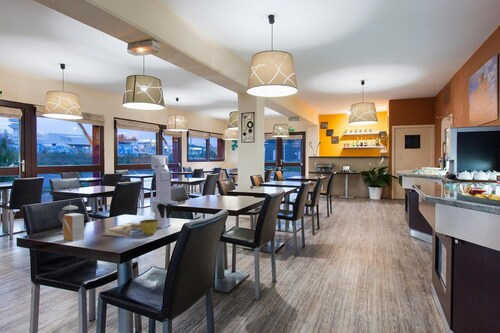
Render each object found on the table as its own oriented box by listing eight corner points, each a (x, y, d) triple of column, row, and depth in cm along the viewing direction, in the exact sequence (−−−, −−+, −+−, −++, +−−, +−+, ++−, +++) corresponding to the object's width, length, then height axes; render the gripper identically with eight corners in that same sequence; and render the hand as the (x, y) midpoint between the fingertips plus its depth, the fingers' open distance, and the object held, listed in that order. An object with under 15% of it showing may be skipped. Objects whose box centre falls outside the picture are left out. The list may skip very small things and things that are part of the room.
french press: (71, 234, 174) (70, 189, 174) (53, 233, 177) (53, 189, 176) (84, 230, 184) (83, 187, 184) (67, 229, 186) (66, 187, 186)
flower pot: (139, 236, 169) (139, 223, 169) (140, 232, 178) (140, 219, 178) (158, 235, 172) (158, 222, 171) (158, 231, 181) (158, 218, 181)
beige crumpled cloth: (130, 227, 191) (130, 222, 191) (150, 229, 187) (150, 224, 187) (105, 234, 172) (105, 229, 172) (126, 236, 168) (126, 231, 168)
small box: (63, 239, 163) (62, 214, 162) (75, 236, 168) (74, 212, 168) (72, 241, 159) (72, 215, 158) (84, 238, 164) (84, 214, 164)
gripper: (149, 193, 170) (149, 218, 170) (172, 194, 165) (172, 220, 165) (157, 192, 176) (157, 216, 177) (179, 193, 172) (179, 217, 172)
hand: (165, 218), depth 171 cm, fingers open, 3 cm apart
